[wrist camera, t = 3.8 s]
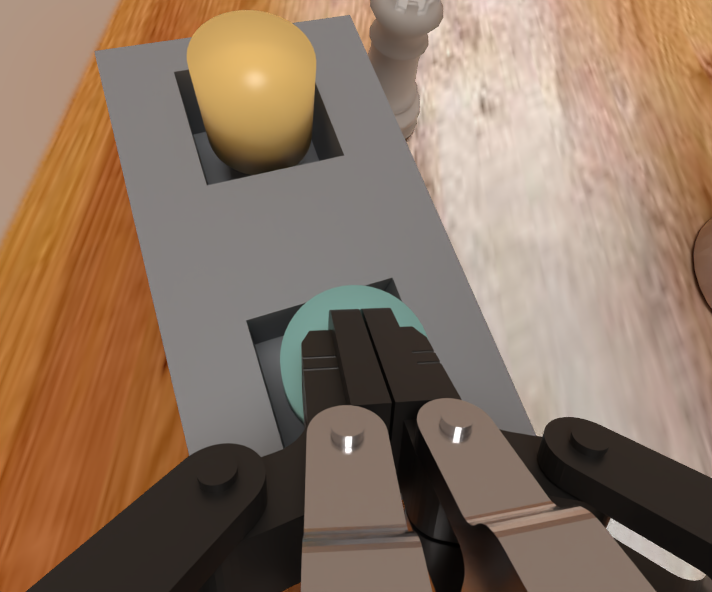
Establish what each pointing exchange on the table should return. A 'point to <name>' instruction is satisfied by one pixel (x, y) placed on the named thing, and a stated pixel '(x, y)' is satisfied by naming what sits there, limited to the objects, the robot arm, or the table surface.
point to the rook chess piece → (401, 52)
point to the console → (284, 239)
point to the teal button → (316, 318)
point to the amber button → (254, 89)
